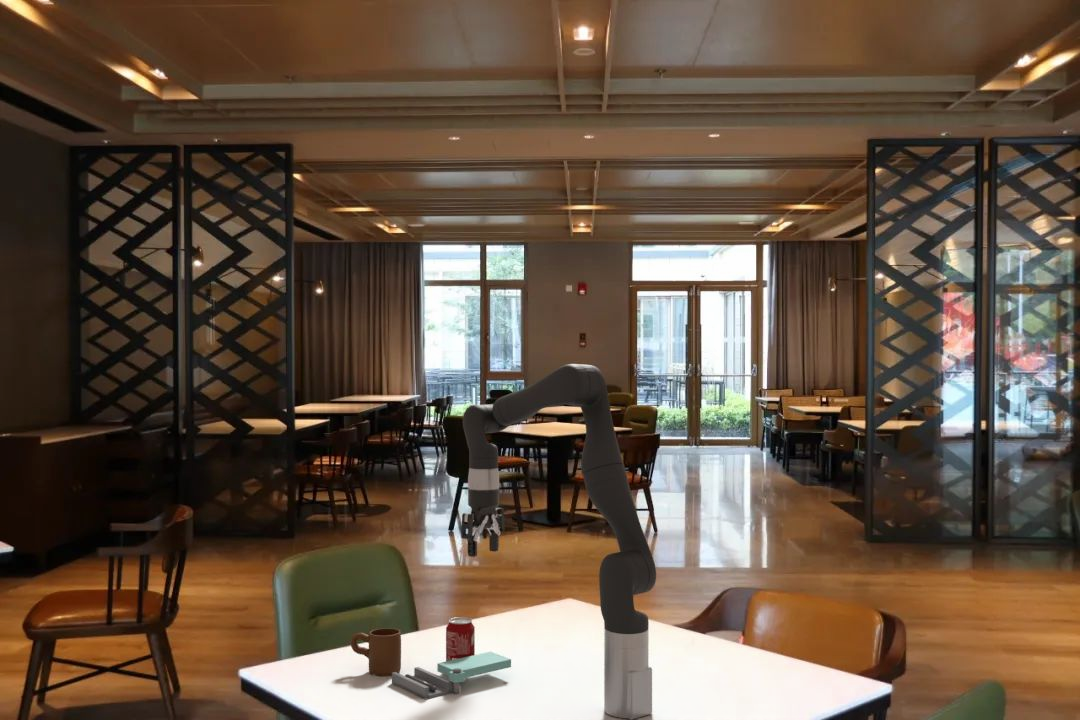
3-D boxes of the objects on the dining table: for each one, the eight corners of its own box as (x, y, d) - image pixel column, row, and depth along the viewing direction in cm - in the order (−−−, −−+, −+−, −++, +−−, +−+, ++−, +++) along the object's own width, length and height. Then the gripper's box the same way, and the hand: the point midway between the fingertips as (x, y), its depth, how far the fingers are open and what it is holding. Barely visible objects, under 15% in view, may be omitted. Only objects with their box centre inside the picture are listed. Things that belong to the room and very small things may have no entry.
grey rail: (461, 692, 213) (461, 681, 213) (428, 701, 208) (428, 689, 208) (423, 676, 225) (423, 665, 225) (391, 683, 220) (391, 672, 220)
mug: (346, 676, 225) (347, 636, 225) (353, 666, 233) (353, 627, 233) (398, 676, 225) (398, 636, 225) (403, 667, 232) (403, 627, 233)
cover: (455, 683, 212) (455, 672, 212) (431, 672, 219) (431, 662, 219) (515, 668, 222) (515, 658, 222) (490, 659, 230) (490, 649, 230)
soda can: (470, 675, 226) (470, 624, 226) (442, 674, 227) (442, 622, 227) (477, 667, 232) (477, 617, 232) (450, 665, 234) (450, 615, 234)
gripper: (478, 490, 226) (477, 560, 226) (513, 485, 238) (512, 551, 238) (453, 488, 231) (452, 556, 230) (488, 483, 242) (488, 547, 242)
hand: (483, 553), depth 234 cm, fingers open, 8 cm apart
